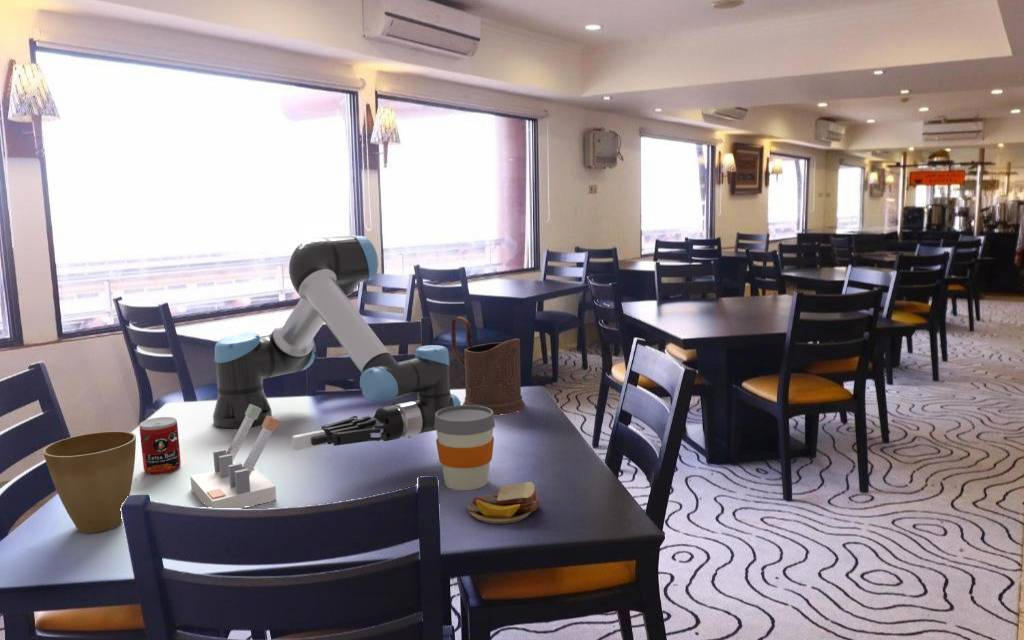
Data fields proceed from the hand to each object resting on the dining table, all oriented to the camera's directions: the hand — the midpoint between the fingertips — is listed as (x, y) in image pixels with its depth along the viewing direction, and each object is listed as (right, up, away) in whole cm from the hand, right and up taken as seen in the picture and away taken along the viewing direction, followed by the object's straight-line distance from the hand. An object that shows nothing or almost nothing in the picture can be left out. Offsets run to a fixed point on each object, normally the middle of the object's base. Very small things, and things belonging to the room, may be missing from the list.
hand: (294, 443), depth 154 cm
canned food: (-34, -9, +16) cm, 38 cm away
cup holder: (+37, 0, +63) cm, 73 cm away
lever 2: (-9, -7, -6) cm, 13 cm away
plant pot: (-32, -13, -14) cm, 37 cm away
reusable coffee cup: (+35, -9, +4) cm, 36 cm away
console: (-12, -10, -1) cm, 16 cm away
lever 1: (-16, -6, +3) cm, 17 cm away
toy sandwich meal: (+43, -11, -11) cm, 46 cm away
